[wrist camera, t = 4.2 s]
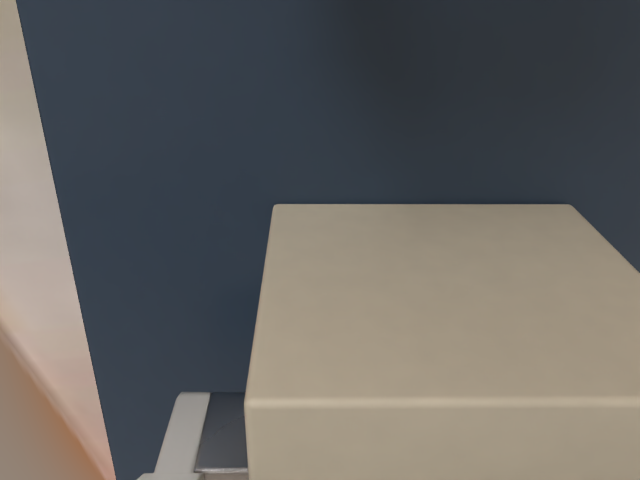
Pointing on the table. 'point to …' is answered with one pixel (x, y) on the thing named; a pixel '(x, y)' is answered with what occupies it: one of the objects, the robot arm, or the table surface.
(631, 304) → the cream box
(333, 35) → the lid
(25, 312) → the table surface
